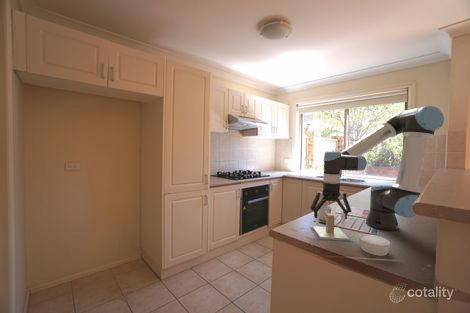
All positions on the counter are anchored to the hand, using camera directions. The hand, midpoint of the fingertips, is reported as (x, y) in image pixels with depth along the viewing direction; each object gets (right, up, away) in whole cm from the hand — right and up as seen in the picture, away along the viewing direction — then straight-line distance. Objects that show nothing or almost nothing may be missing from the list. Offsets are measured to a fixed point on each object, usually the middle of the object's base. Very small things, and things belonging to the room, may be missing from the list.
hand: (329, 224), depth 106 cm
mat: (0, -5, 0) cm, 5 cm away
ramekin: (+12, -6, -16) cm, 20 cm away
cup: (+6, -4, +21) cm, 22 cm away
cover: (0, -5, 0) cm, 5 cm away
